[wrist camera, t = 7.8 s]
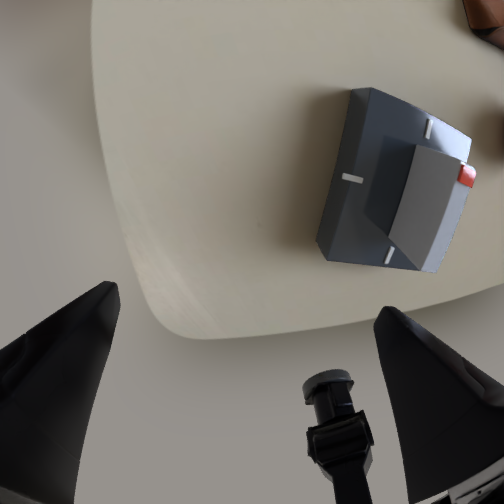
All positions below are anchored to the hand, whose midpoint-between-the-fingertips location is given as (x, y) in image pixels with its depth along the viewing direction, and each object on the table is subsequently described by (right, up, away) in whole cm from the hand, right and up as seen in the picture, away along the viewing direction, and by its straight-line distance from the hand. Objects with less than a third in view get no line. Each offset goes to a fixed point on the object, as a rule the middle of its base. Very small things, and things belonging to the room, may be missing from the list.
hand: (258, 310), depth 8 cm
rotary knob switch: (+11, +7, +10) cm, 17 cm away
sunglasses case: (+28, +27, +1) cm, 39 cm away
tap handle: (+11, +6, +8) cm, 14 cm away
